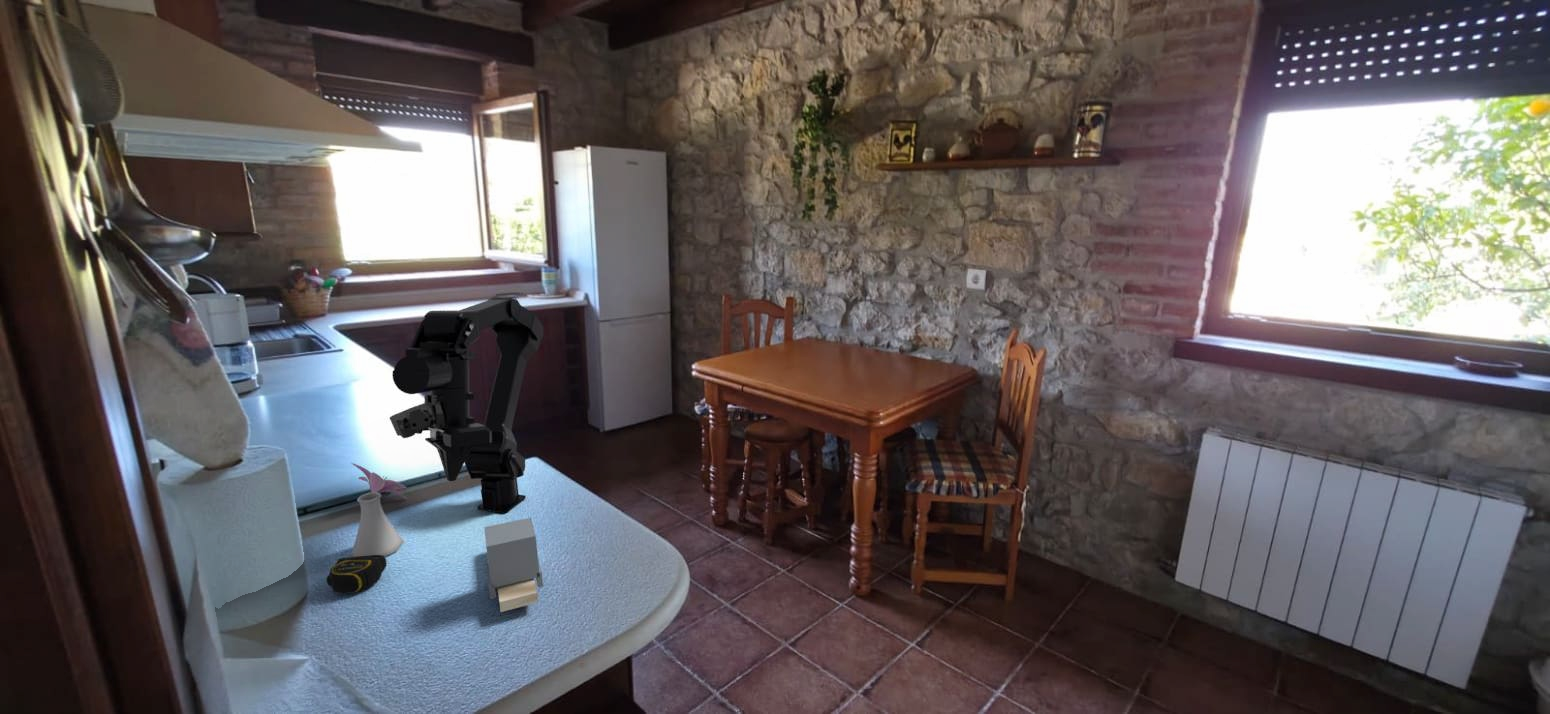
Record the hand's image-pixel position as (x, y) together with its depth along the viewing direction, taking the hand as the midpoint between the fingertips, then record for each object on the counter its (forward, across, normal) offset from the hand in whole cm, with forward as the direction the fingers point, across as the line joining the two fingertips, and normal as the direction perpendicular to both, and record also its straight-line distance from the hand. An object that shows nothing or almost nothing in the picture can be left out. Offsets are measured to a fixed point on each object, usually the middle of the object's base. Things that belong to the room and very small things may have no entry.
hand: (451, 480), depth 105 cm
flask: (+13, -10, -8) cm, 18 cm away
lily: (+10, -28, -3) cm, 29 cm away
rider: (+13, +18, +3) cm, 22 cm away
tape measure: (+14, -3, -13) cm, 20 cm away
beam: (+14, +14, +4) cm, 20 cm away
